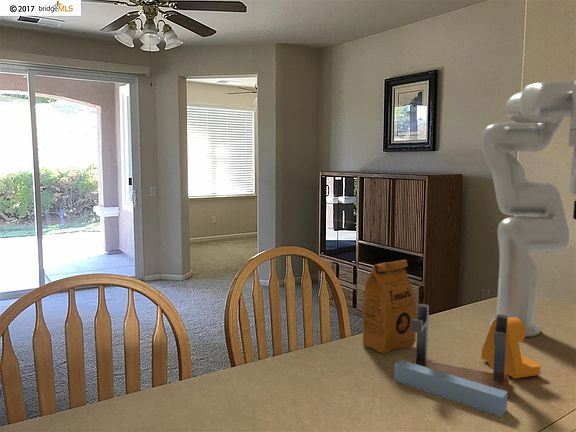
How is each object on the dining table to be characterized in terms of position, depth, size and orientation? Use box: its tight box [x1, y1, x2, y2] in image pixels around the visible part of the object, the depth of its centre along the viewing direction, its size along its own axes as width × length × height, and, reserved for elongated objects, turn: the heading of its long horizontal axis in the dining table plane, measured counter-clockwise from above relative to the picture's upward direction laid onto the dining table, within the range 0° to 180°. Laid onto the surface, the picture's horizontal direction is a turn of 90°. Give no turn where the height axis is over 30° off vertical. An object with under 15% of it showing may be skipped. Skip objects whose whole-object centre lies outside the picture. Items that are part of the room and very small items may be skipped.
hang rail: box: [393, 359, 509, 417], centre depth 97 cm, size 3×22×4 cm, turn 50°
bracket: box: [480, 317, 542, 379], centre depth 108 cm, size 11×7×12 cm, turn 16°
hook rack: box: [411, 303, 510, 399], centre depth 102 cm, size 8×20×15 cm, turn 63°
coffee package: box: [362, 259, 417, 354], centre depth 120 cm, size 10×12×22 cm
